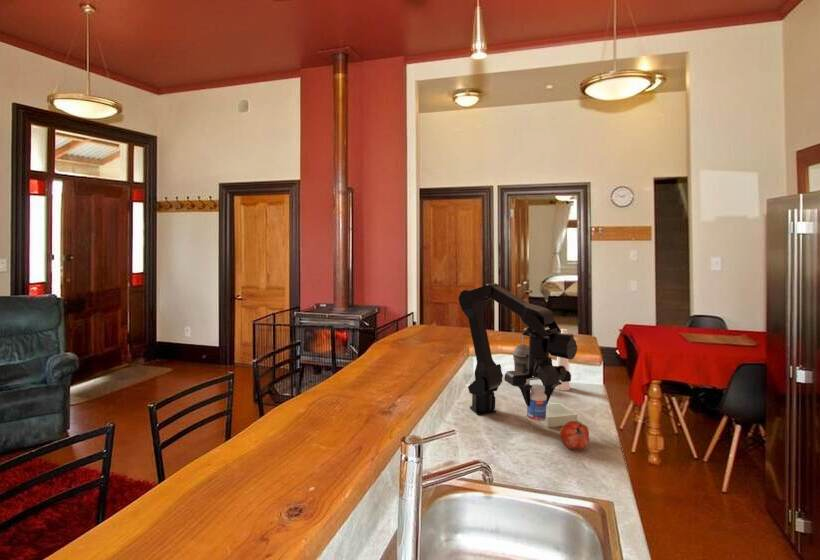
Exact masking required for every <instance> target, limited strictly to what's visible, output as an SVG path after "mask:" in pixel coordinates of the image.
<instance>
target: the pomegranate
mask: <svg viewBox="0 0 820 560" xmlns="http://www.w3.org/2000/svg"><path fill="white" fill-rule="evenodd" d="M589 434H590V432H589V429H588V428H587V426H586V425H584V424H581V423H580V422H578V421H577V422H576V421H570V422H567V423H566V424H565V425H564V426H562V427H561V428H560V432H559V435H560V438H561V441H562V443H563V445H564V446H565V447H566V448H568V450H572V451H573V450H574V451H575V450H579V451H583V450H585V449H586V448H587V447H588V446H589V443H590V438H589V437H590V435H589Z"/></svg>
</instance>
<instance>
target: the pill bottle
mask: <svg viewBox="0 0 820 560" xmlns="http://www.w3.org/2000/svg"><path fill="white" fill-rule="evenodd" d="M531 385H532V388H531V389H530V406H527V405H526V418H527V419H528V420H529V421H532V422H536V423H541V422H542V421H545V419H546V403H547V396H546V394H545V393H544V392H545V387H544V386H543V384H539V383H538V384H534V383H533V384H531Z"/></svg>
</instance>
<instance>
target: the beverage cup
mask: <svg viewBox="0 0 820 560" xmlns="http://www.w3.org/2000/svg"><path fill="white" fill-rule="evenodd" d="M526 354H529V345H527V344H525V335H523V334H522V344H518V345H517V346H516V347H515V348H514V351H513V353H512V356H513V358H512V359H513V362H514V363H513V365H514V371H519V372H521V373H523V374H528V372H526V368H528V358H526ZM516 387H517V388H519V386H516Z"/></svg>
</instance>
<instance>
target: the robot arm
mask: <svg viewBox="0 0 820 560" xmlns="http://www.w3.org/2000/svg"><path fill="white" fill-rule="evenodd" d="M457 298H458V302H459V306H460V308H461V312H463V314H464V315H465V316H466V318H467V319H468V320H467V321H468V324H469V329H470V333H471V340H472V344H473V347H474V348H473V349H474V354H475V359H476V367H475V370H474V381H473V382H471V383H470V385H468V386H467V388H468V393H469V394H471V399H472V400H471V406H469V408H470V409H471V411H473V412H474V413H475V414H476V415H478V416H479V415H490V414H496V413H497V411H496V396H495V392H497V391H498V390H499V387H500V386H501V384H502V383H503V378H504V381H505V382H507V383H508V384H509V385H511V386H513V387H517V386H519V387H518V388H519V390H520V393H521V394H522V397H523V400H524V402H525V405H526V407H527V406H530V392H531V388H532V385H533V384H530V383H531V382H530V381H536V380H538V381H539V380H540V381H541V384H542V385H543V386H544V387H545V392H544V393H545V394H546V396H547V403H546V405H547V404H549V401H550V399H551V396H552V394H553V392H554V390H556V389H555V387H557V386H558V385H561V384H562V383H561V382H559V380H561V381H562V382H569V383H570V382H571V381H572V374H571V371H567V370H566V368H565V367H564V366H556V365H553V360H552V357H556V358H557V357H561V358H566V359H569V360H573V359H574V358H575V357H576V355H577V351H578V345H577V341H576V339H575V336H574V334H572V333H568V334H564V333H561V328H560V327H559V325H558V324H557V322H556V319H555V318H554V312H553V311H552V310H550V309H549V308H546V307H543V306H540V305H538V304H537V305H536V304H532V303H529V302H528V301H526V300H524V299H522V298H520V297H519V296H517V295H516V294H513V293H512V292H510V291H508V290H507V289H505V288H504V287H502V286H501V285H500V284H498V283H496V282H495V283H486V284H485V285H483V286H480V287H477V288H472V289H471V288H470V289H465V290H462V291H461V292H460V293H459V295H458V297H457ZM487 300H493V301H495V302H496V303H498V304H500V305H501V306H502V307H504V308H506V309H507V310H509V311H511V312H513V313H514V314H515V315H517V316H518V317H519V318H520V320H521V321H522V323H523V324H524V325H525V326H527V327H528V328H527V329H526V330H525V331H523V332H522V334H521V335H522V336H523V335H524V337H528V338H529V339H528V346H529V354H526V358H528V368H526V372H528V374H523V373H521V372H519V371H515V370H508V371H506V372H505V374H503V372H502V366H501V364H500V363H499V364H497V363H496V362H495V361H494V360H493V356H492V352H491V351H492V350H491V346H490V341H489V337H488V331H487V327H486V322H485V317H484V313H485V310H486V301H487ZM550 356H552V357H550Z"/></svg>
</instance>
